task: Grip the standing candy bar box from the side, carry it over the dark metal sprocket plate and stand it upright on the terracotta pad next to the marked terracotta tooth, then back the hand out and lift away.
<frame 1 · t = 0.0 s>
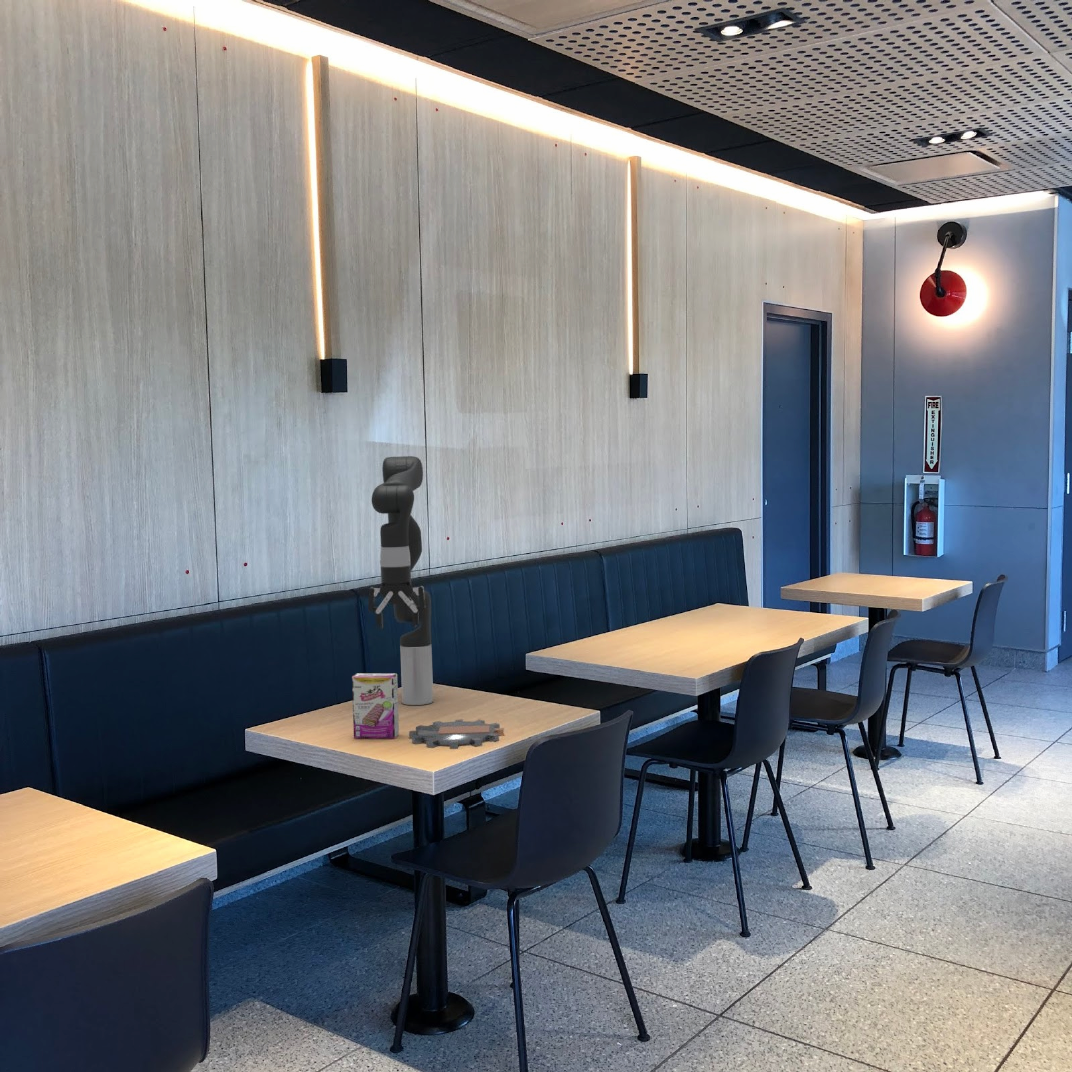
hand: (397, 627, 284), 29 cm above the table, tool pointing down, fingers open, 8 cm apart
sprocket plate: (456, 736, 289), on the table
candy bar box: (376, 737, 291), on the table
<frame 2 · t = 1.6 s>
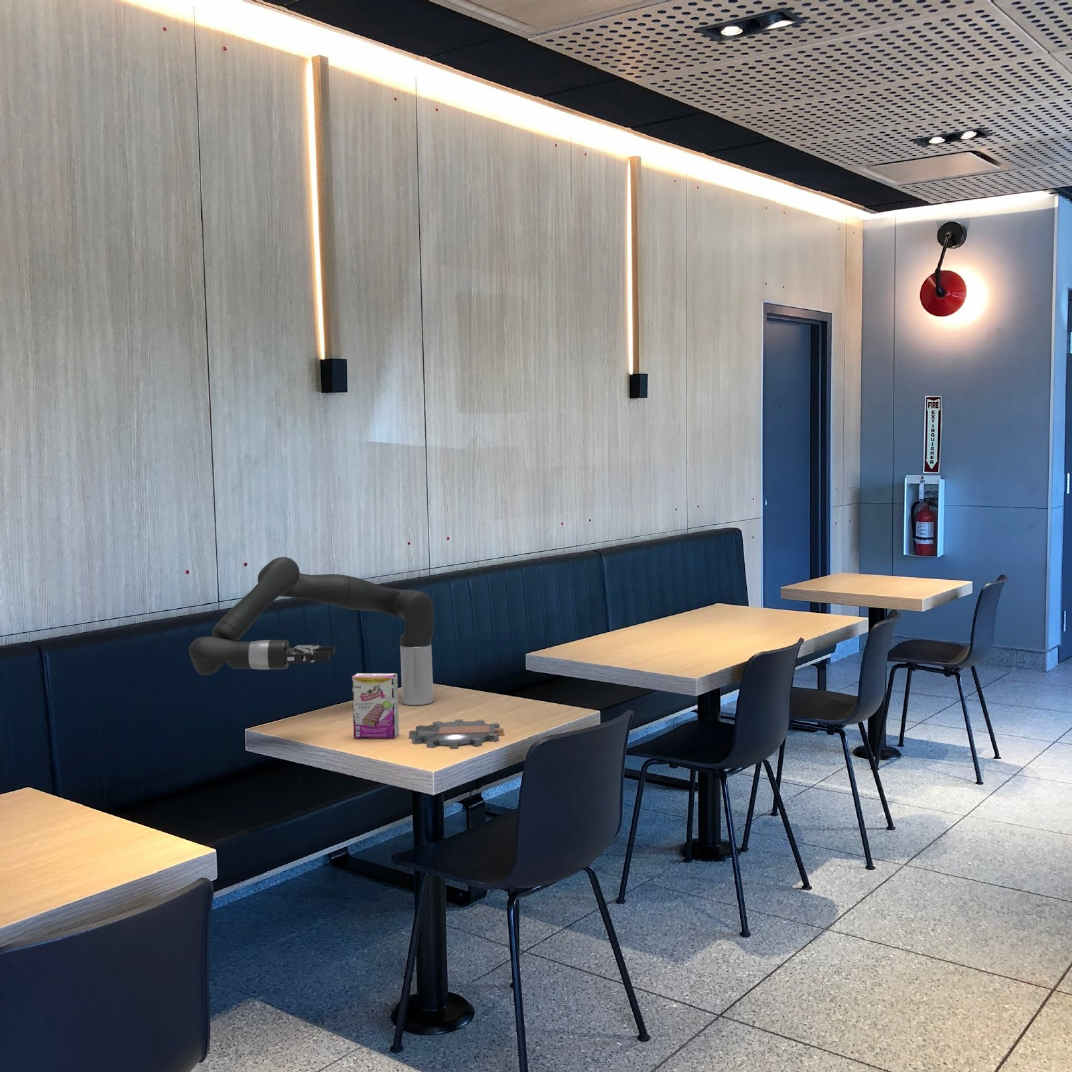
hand: (332, 653, 289), 22 cm above the table, tool horizontal, fingers open, 8 cm apart
nothing on the table moved.
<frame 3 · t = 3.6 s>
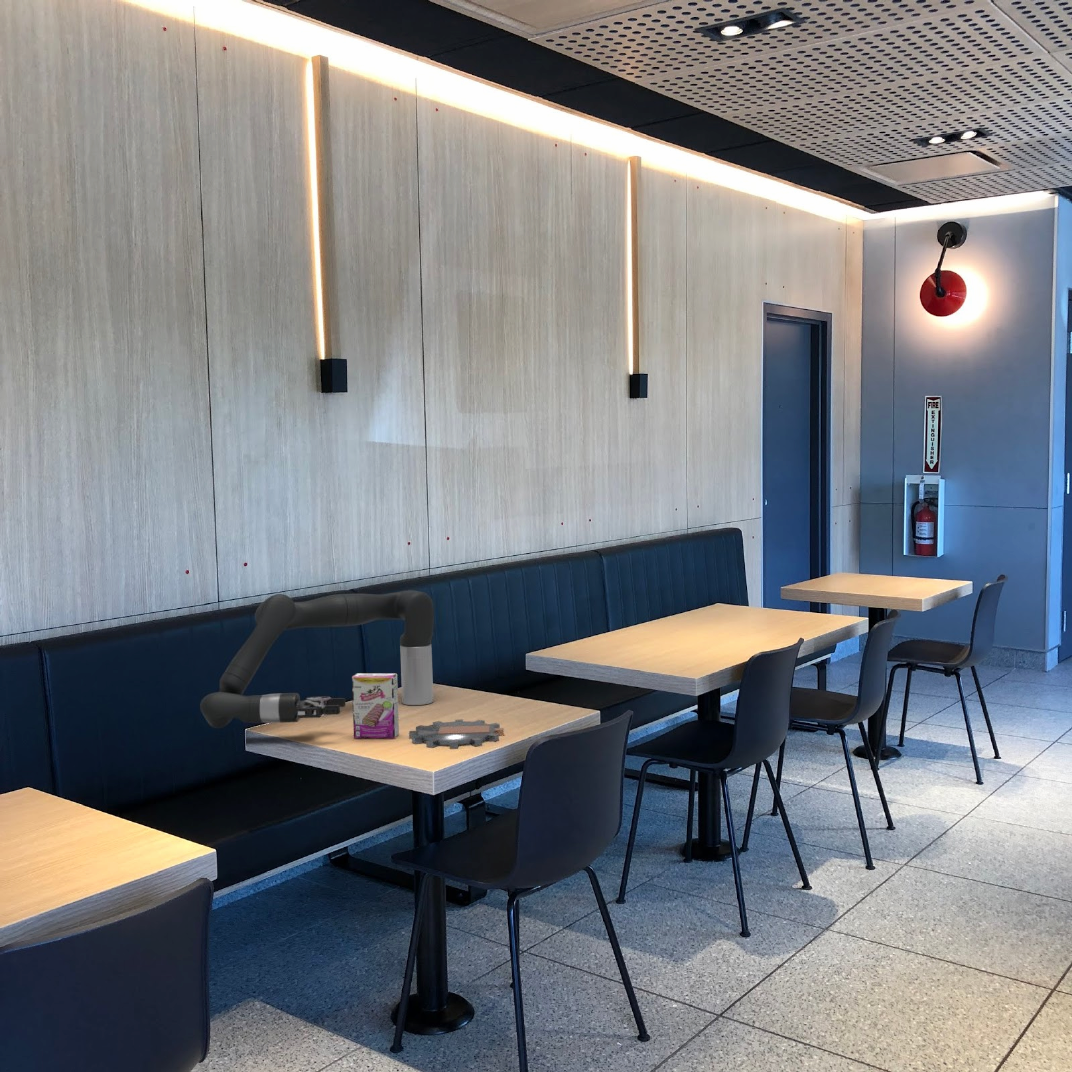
hand: (342, 705, 290), 8 cm above the table, tool horizontal, fingers open, 8 cm apart
nothing on the table moved.
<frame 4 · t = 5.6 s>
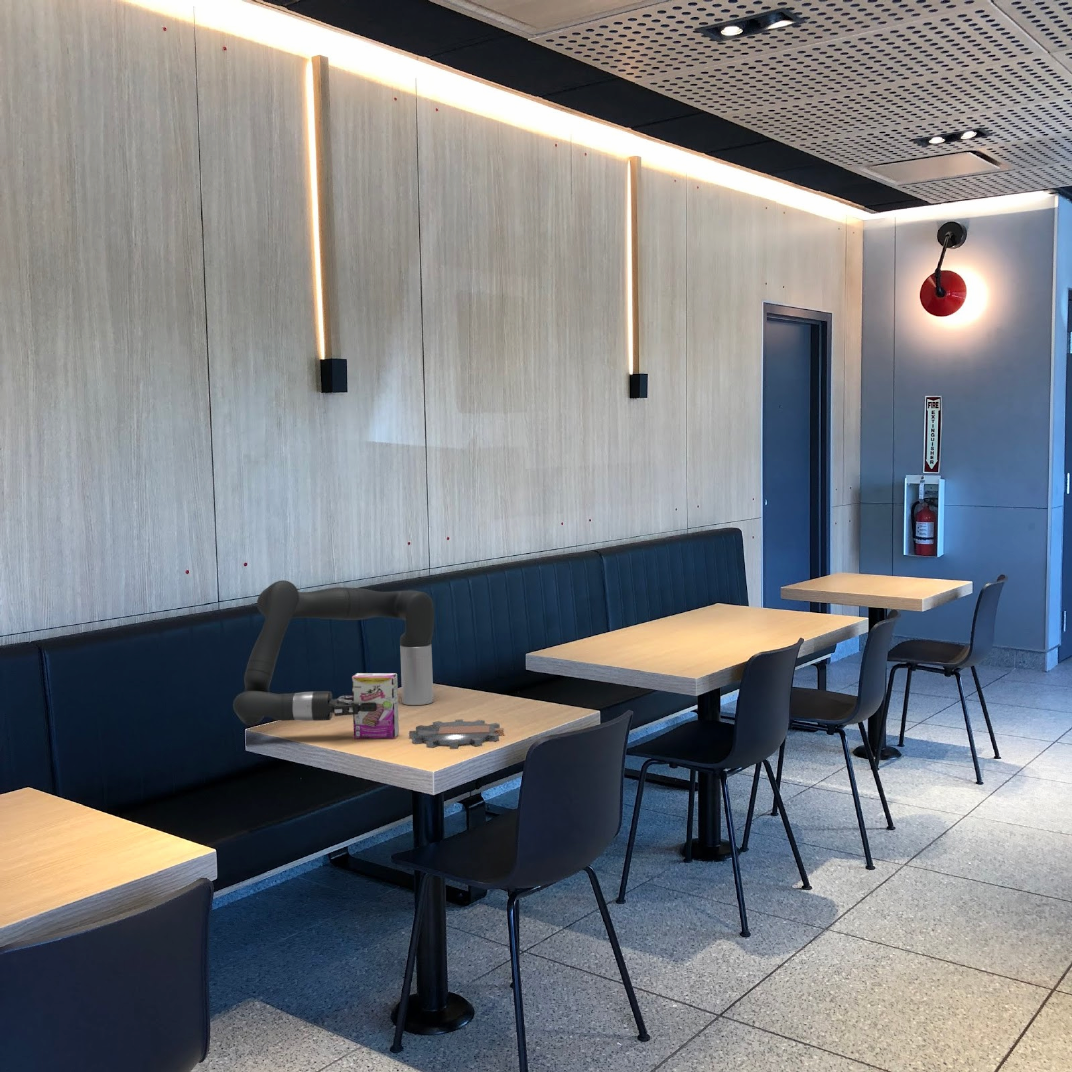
hand: (377, 704, 290), 9 cm above the table, tool horizontal, fingers closed on candy bar box, 5 cm apart
candy bar box: (376, 737, 291), on the table, touching gripper
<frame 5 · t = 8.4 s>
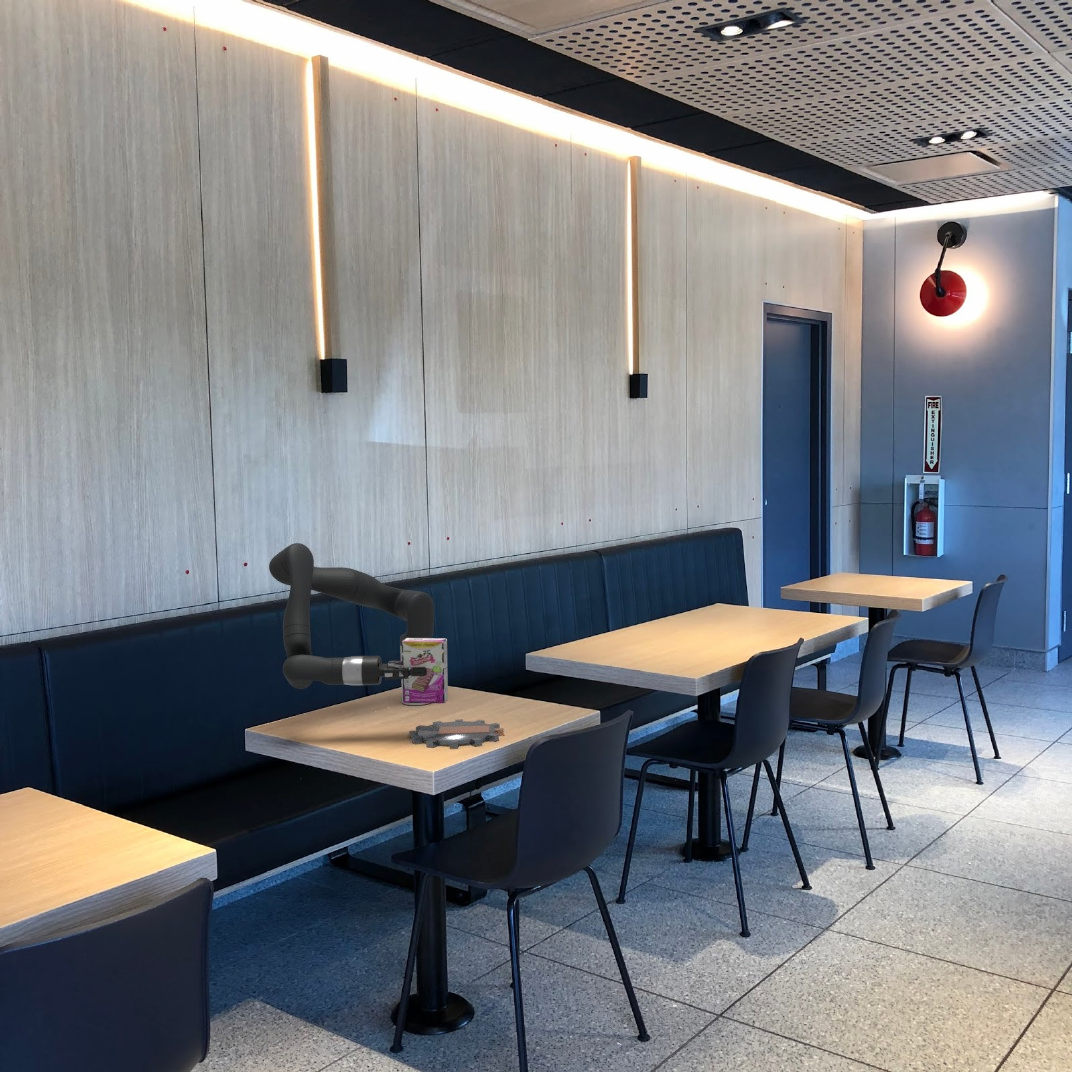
hand: (427, 669, 288), 18 cm above the table, tool horizontal, fingers closed on candy bar box, 5 cm apart
candy bar box: (425, 702, 289), point 9 cm above the table, touching gripper
when the fingers open (11 cm above the table, at t = 11.2 s): candy bar box drops 1 cm, resting on sprocket plate.
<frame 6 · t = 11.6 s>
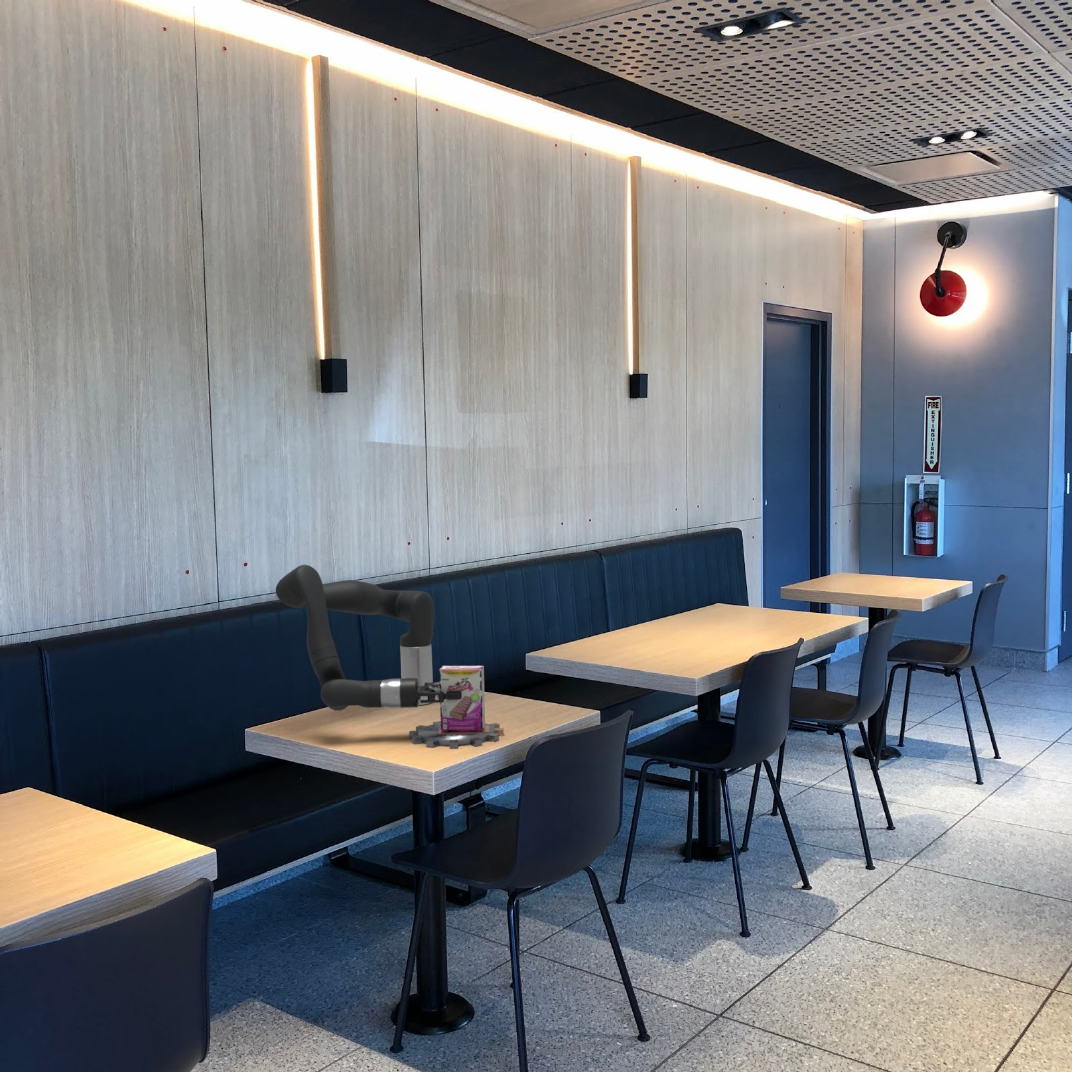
hand: (462, 691, 288), 12 cm above the table, tool horizontal, fingers open, 8 cm apart
candy bar box: (463, 730, 289), point 1 cm above the table, touching sprocket plate
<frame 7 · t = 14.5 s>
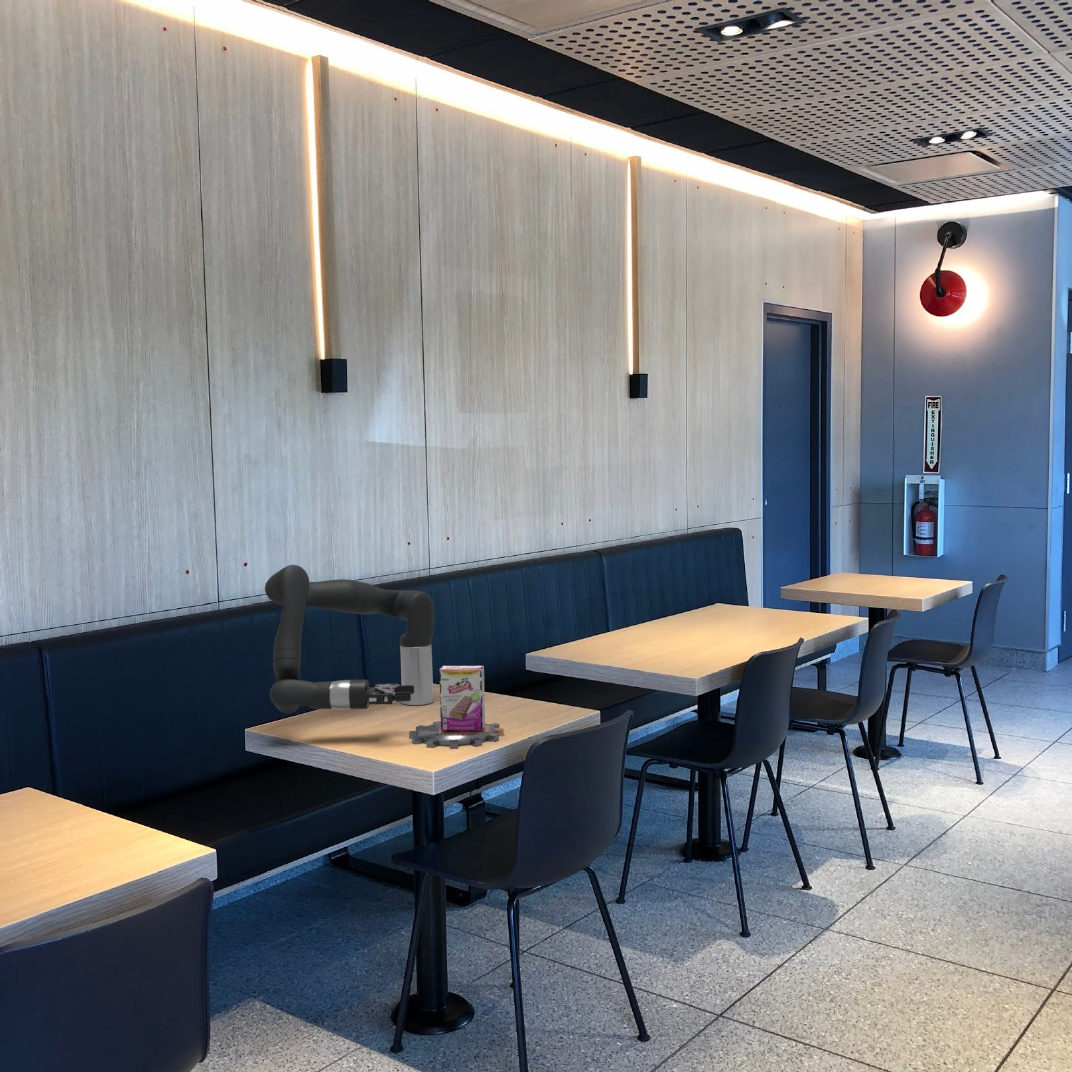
hand: (412, 692, 288), 12 cm above the table, tool horizontal, fingers open, 8 cm apart
nothing on the table moved.
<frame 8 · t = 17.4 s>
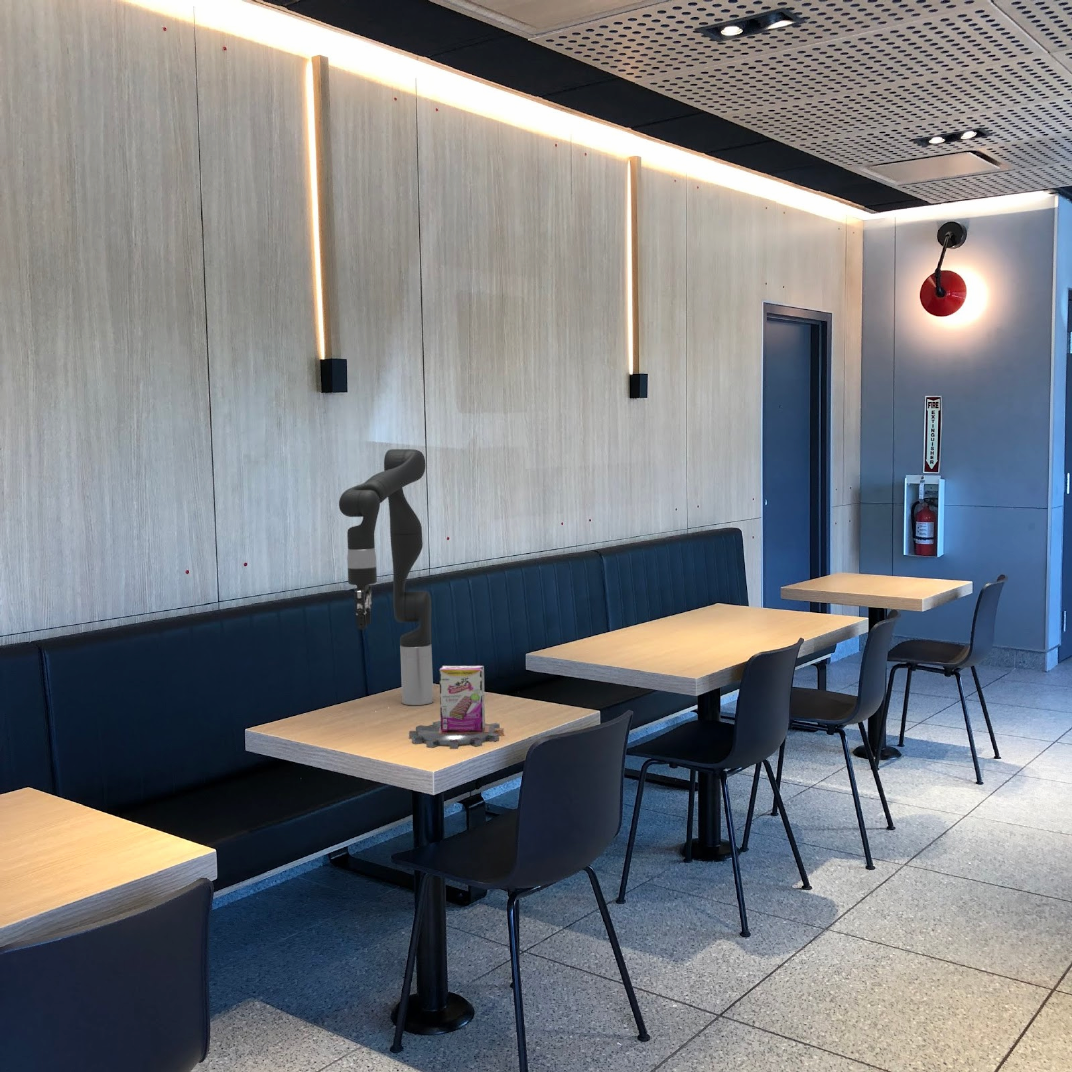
hand: (364, 626, 295), 28 cm above the table, tool pointing down, fingers open, 8 cm apart
nothing on the table moved.
at the end: candy bar box 0.3 cm from the target spot on the sprocket plate, point 1.5 cm above the sprocket plate's base; candy bar box tilted 0°; the gripper is holding nothing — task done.
